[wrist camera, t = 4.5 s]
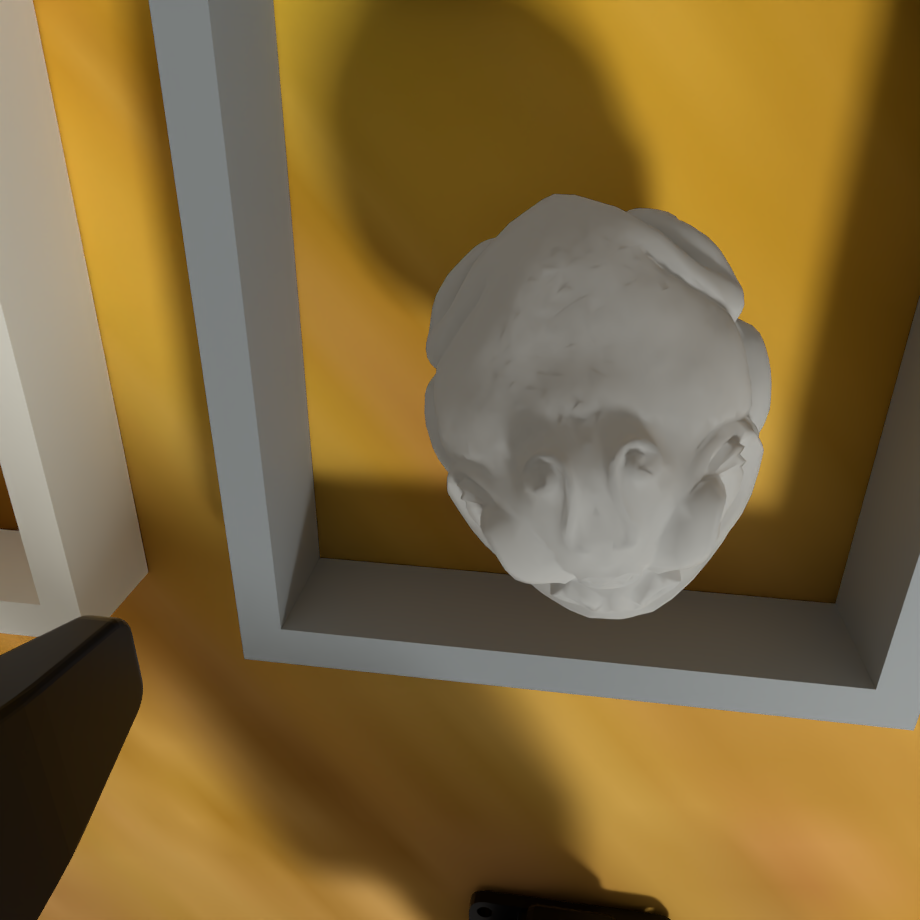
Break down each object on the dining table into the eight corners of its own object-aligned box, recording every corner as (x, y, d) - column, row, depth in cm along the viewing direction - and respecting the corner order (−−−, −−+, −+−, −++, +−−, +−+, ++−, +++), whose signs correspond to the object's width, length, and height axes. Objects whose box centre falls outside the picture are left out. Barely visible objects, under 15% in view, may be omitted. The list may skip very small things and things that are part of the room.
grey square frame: (868, 639, 19) (913, 730, 17) (287, 585, 21) (244, 658, 19) (1091, -90, 13) (1225, -134, 10) (214, -78, 15) (132, -112, 12)
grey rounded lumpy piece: (485, 490, 19) (439, 691, 13) (416, 197, 16) (313, 274, 10) (746, 455, 18) (832, 660, 12) (719, 129, 15) (816, 170, 9)
